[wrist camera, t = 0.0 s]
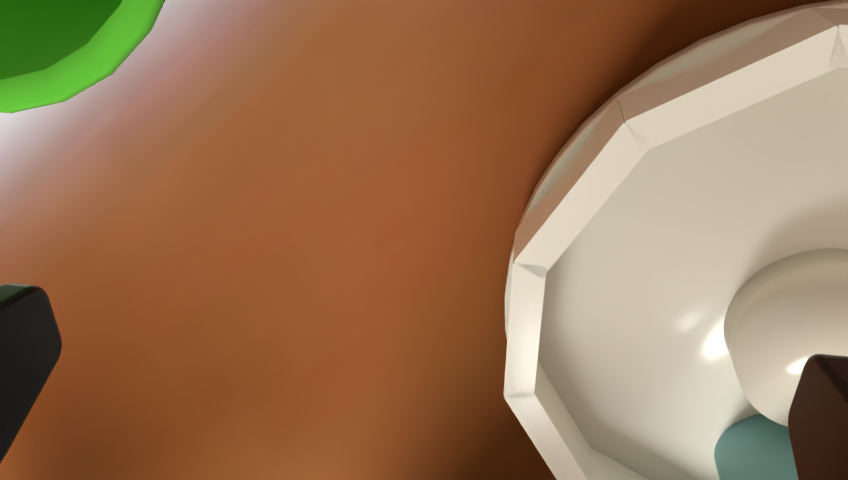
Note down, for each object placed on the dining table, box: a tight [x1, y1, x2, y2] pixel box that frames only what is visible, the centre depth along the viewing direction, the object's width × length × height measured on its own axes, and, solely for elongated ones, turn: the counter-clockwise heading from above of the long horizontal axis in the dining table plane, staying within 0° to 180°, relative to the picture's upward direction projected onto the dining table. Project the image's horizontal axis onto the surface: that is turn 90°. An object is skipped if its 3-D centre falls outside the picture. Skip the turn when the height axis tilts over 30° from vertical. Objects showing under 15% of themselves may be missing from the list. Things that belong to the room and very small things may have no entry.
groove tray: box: [504, 0, 848, 480], centre depth 22 cm, size 20×20×3 cm
